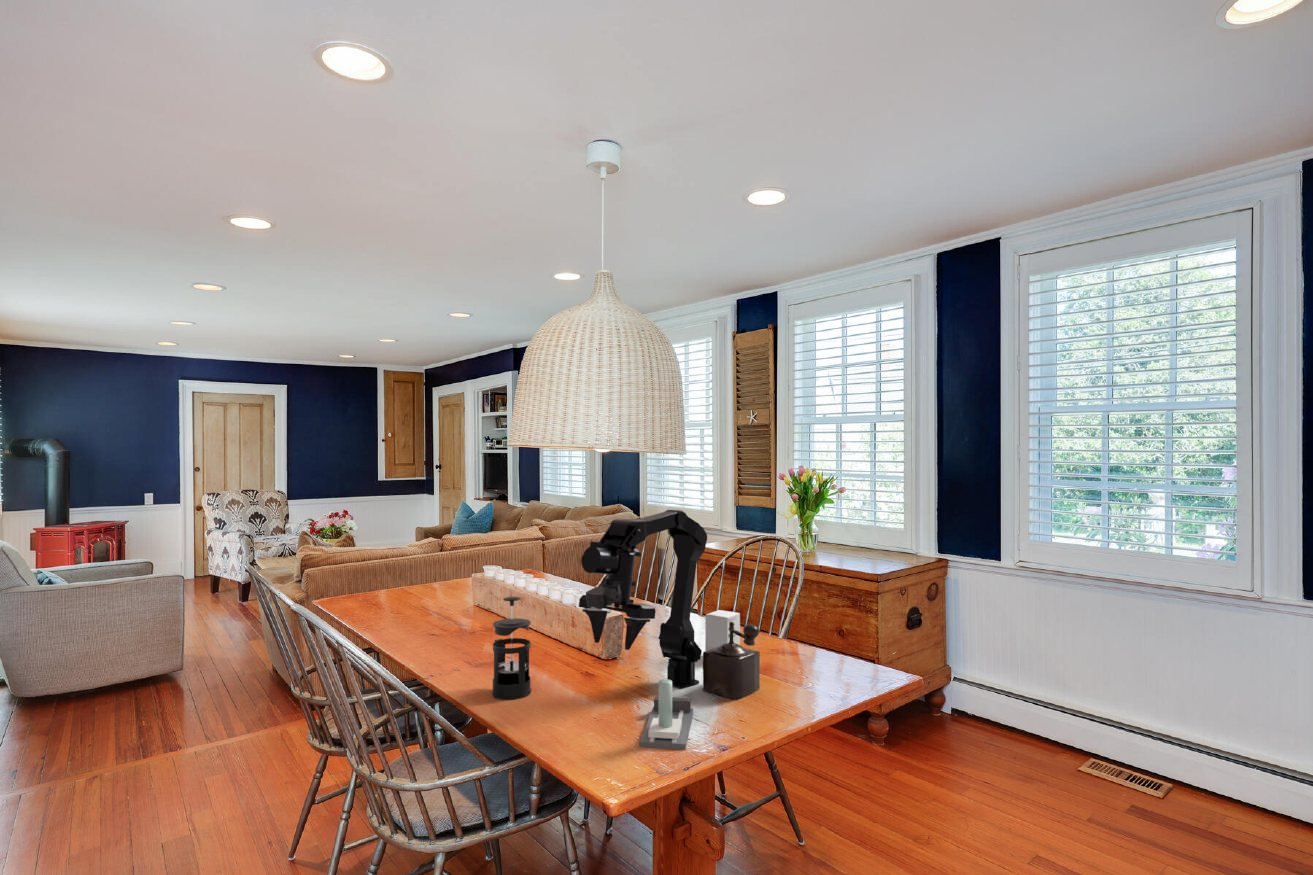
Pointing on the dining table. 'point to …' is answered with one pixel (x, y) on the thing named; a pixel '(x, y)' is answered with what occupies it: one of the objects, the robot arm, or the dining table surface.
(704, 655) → the manual coffee grinder
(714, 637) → the supplement box
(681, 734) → the rail track
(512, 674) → the french press
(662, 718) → the carriage
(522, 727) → the dining table surface
